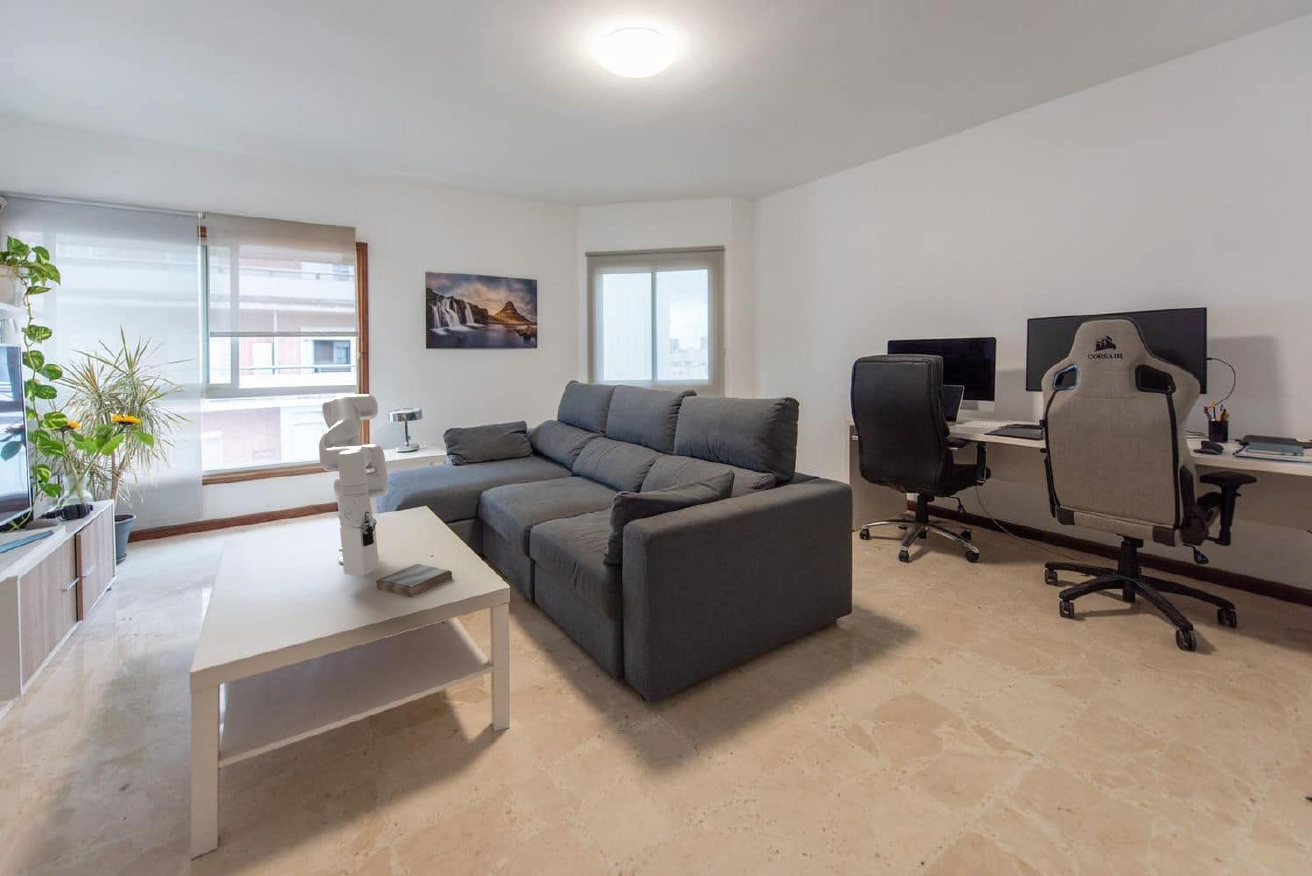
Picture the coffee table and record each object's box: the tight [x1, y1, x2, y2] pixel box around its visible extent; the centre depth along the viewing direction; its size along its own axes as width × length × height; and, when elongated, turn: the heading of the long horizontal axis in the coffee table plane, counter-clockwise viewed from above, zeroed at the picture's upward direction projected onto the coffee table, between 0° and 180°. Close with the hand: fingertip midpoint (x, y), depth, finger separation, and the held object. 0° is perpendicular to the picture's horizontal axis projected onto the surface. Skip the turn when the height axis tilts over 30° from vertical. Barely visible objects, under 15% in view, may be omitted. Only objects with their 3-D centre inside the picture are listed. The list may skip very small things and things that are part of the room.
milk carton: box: [339, 519, 380, 577], centre depth 180 cm, size 7×7×19 cm
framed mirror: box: [375, 563, 453, 598], centre depth 184 cm, size 16×16×3 cm
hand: (359, 542), depth 180 cm, fingers closed on milk carton, 8 cm apart
